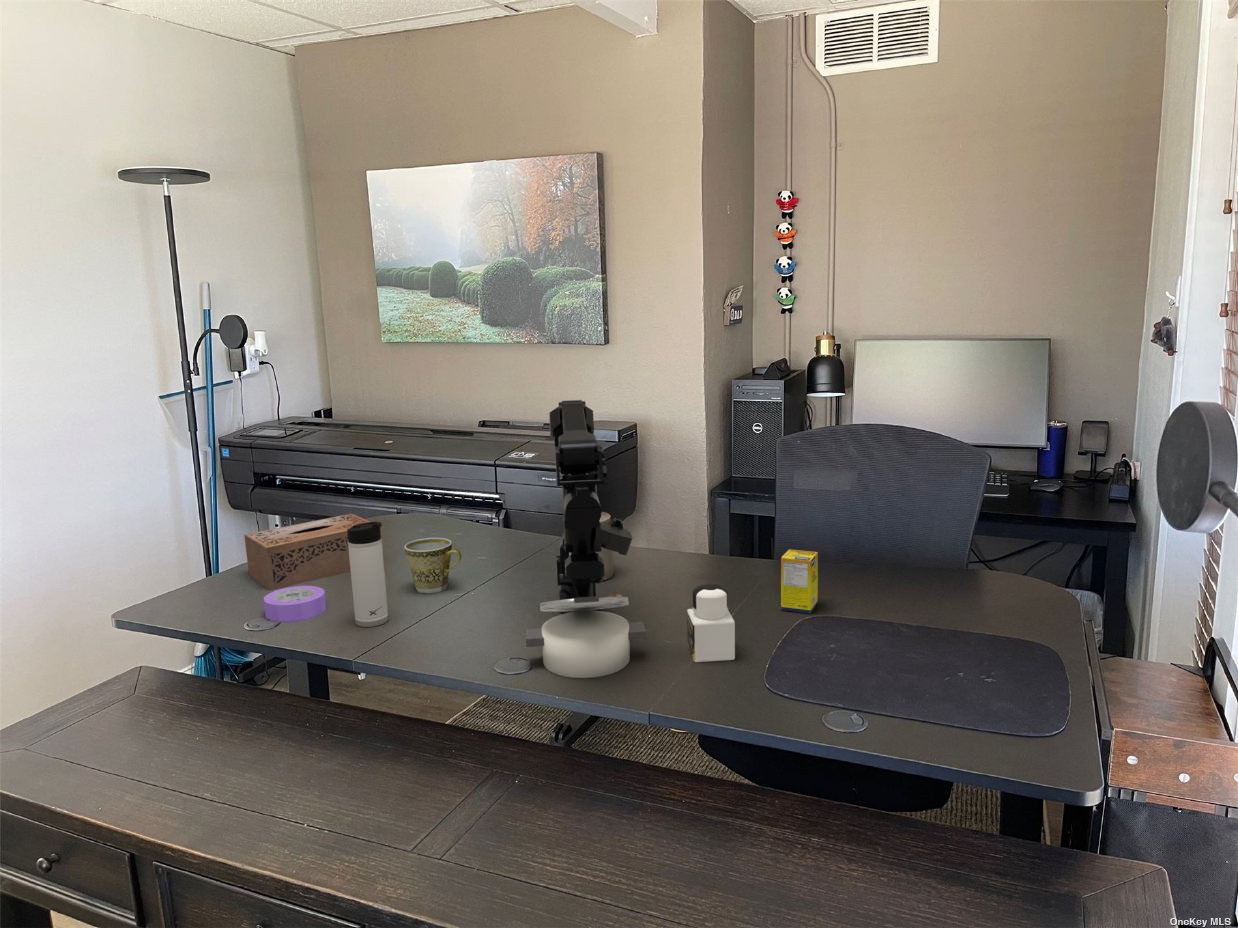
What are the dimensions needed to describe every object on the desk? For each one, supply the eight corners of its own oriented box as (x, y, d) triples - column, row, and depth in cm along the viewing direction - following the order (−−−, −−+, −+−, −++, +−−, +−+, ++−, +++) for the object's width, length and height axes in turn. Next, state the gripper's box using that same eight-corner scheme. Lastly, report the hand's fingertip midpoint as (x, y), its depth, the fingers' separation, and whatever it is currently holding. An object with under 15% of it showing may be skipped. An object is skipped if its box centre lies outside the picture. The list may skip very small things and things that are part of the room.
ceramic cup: (398, 593, 190) (394, 548, 188) (425, 578, 199) (422, 535, 197) (450, 600, 185) (447, 553, 183) (475, 584, 194) (472, 540, 192)
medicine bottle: (687, 646, 158) (686, 582, 156) (726, 643, 159) (726, 579, 156) (693, 663, 151) (693, 596, 149) (735, 660, 152) (735, 593, 150)
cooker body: (527, 643, 162) (526, 612, 160) (639, 636, 163) (638, 605, 162) (527, 682, 146) (525, 647, 145) (650, 673, 148) (649, 639, 147)
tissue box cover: (355, 552, 222) (351, 513, 220) (380, 565, 211) (377, 524, 209) (249, 576, 206) (244, 534, 204) (271, 591, 195) (266, 547, 193)
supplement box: (817, 604, 177) (818, 551, 174) (810, 614, 171) (811, 560, 169) (788, 600, 179) (788, 548, 177) (780, 610, 174) (780, 557, 172)
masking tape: (303, 598, 190) (301, 581, 189) (338, 608, 183) (336, 591, 182) (253, 616, 180) (251, 598, 180) (288, 627, 174) (286, 608, 173)
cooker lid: (540, 612, 160) (540, 601, 160) (624, 607, 161) (624, 596, 162) (539, 607, 143) (539, 594, 144) (633, 601, 145) (632, 589, 145)
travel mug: (381, 628, 171) (372, 527, 167) (349, 626, 172) (340, 527, 168) (395, 616, 177) (387, 519, 173) (364, 614, 178) (356, 518, 174)
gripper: (634, 526, 141) (636, 618, 144) (622, 495, 159) (624, 578, 163) (564, 530, 140) (568, 622, 143) (560, 499, 158) (563, 581, 162)
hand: (583, 599), depth 153 cm, fingers closed
